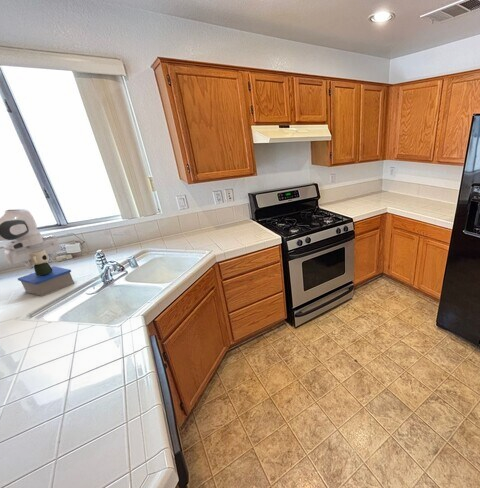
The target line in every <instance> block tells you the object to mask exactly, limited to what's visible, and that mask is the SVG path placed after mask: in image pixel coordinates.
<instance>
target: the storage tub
mask: <svg viewBox="0 0 480 488" xmlns="http://www.w3.org/2000/svg"><path fill="white" fill-rule="evenodd" d="M50 267H51V268H52V270H53V271H52V272H51V273H49V274H45V275H36V273H35V272H33V273H29V274H27V275H24V276H21V277H20V276H19V277H18V278H17V281H19V282H20V283H21V285H22V286H23V287H22V288H23V289H24V291H25V292H26V293H28V294H32V295H37V296H40V297H44V296H47V295H48V294H52V293H53V292H57V291H58V290H61V289H63V288H66V287H68V286H71V285H73V284H75V281H74V279H73V276H72V274H71V272H72V270H71V269H69V268H63V267H60V266H59V267H58V266H50Z"/></svg>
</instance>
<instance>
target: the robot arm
mask: <svg viewBox="0 0 480 488" xmlns="http://www.w3.org/2000/svg"><path fill="white" fill-rule="evenodd" d="M0 242H7V243H4V244H3V245H2V248H4V249H5V250H4V257H5V261H6V262H7V263H8V264H9V265H18V264H22V265H24V266H26V268H27V269H28V270H31V269H34V265H30V263H29V260H31V257H30V254H31V253H37V252H40V251H43V250H45V252H46V254H47V256H48V258H49V261H47V263H48V264H49V263H54V259H53V258H54V254H55V253H58V252H62V249H63V248H62V246H61V244H60V242H59V239H58V237H57V236H56V235H52V234H51V235H50V234H49V235H47V236H42V234H41V231H39V229H38V225H37V223H36V219H35V218H34V216H33V215H32V213H31V211H29V210H28V209H23V208H19V209H18V208H17V209H15V208H14V209H6V210H5V211H4V214H3V215H2V216H1V217H0Z"/></svg>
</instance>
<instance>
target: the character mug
mask: <svg viewBox="0 0 480 488" xmlns="http://www.w3.org/2000/svg"><path fill="white" fill-rule="evenodd" d="M30 257H31V260H29V261H28V264H29V265H33V267H34V268H33V270H34V273H36V275H45V274H49V273H51V272H52V271H53V270H52V268H51V267H52V266H51V265H50V264H49V262H48V261H49V256H48V255H47V254H46V252H45V250H43V251H40V252H37V253H31V254H30Z"/></svg>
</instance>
